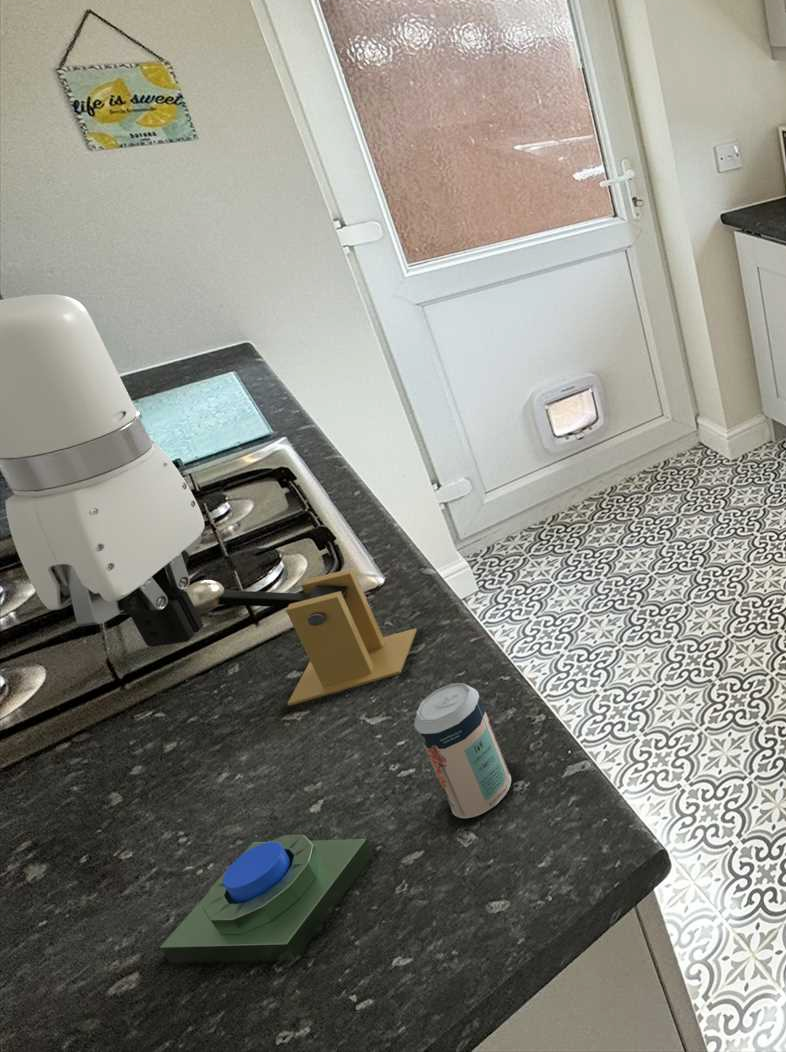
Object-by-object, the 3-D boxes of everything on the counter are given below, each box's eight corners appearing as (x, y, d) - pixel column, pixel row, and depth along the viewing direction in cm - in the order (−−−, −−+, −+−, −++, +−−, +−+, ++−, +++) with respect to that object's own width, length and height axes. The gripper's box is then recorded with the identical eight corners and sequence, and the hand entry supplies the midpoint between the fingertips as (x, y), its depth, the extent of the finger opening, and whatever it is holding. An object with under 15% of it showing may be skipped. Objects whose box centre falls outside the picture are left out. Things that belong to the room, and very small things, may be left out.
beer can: (462, 782, 74) (422, 687, 69) (518, 766, 75) (482, 672, 71) (445, 829, 69) (401, 732, 65) (505, 812, 71) (466, 715, 66)
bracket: (291, 712, 82) (246, 625, 78) (315, 664, 88) (276, 581, 84) (403, 679, 86) (366, 594, 81) (419, 635, 92) (386, 554, 88)
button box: (171, 965, 60) (148, 932, 59) (262, 859, 68) (244, 827, 66) (297, 961, 60) (277, 929, 59) (375, 855, 68) (359, 824, 66)
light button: (218, 903, 61) (209, 888, 60) (259, 856, 64) (251, 841, 64) (263, 902, 61) (254, 887, 60) (302, 854, 64) (294, 840, 64)
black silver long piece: (170, 619, 77) (175, 592, 76) (187, 599, 80) (191, 572, 79) (334, 624, 83) (340, 599, 82) (345, 605, 86) (350, 580, 85)
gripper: (106, 413, 66) (193, 584, 73) (-86, 518, 53) (42, 718, 59) (207, 402, 68) (283, 572, 74) (45, 503, 54) (156, 700, 60)
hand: (176, 636), depth 67 cm, fingers closed
